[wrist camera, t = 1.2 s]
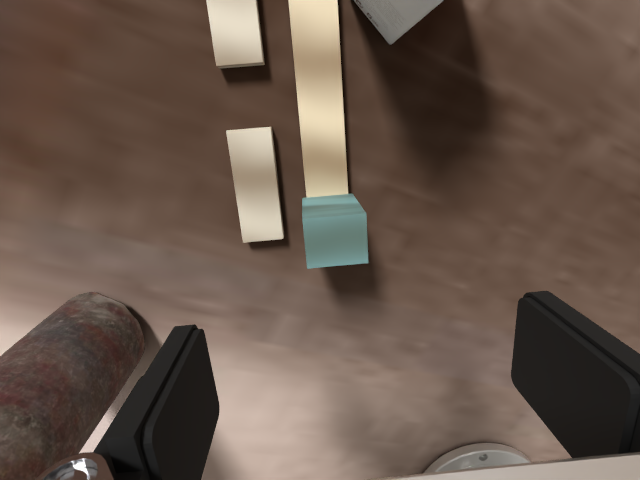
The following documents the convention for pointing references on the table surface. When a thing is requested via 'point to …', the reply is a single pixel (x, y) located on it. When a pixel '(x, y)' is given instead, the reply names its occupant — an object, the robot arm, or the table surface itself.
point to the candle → (63, 382)
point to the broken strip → (256, 143)
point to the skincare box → (395, 15)
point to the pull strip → (324, 139)
